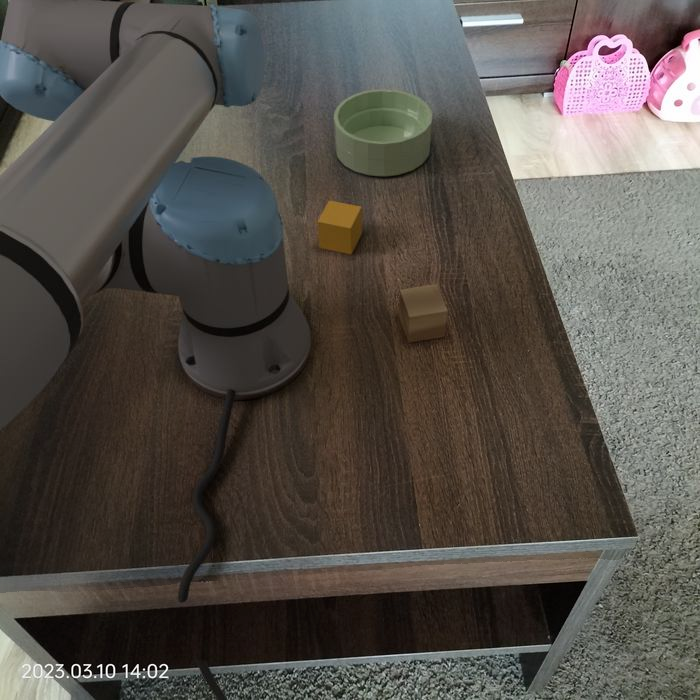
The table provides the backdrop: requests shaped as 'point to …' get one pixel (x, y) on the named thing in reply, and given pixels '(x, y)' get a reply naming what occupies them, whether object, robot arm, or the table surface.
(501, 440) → the table surface
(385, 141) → the pale green pet bowl
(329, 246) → the mustard block
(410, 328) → the beech block
